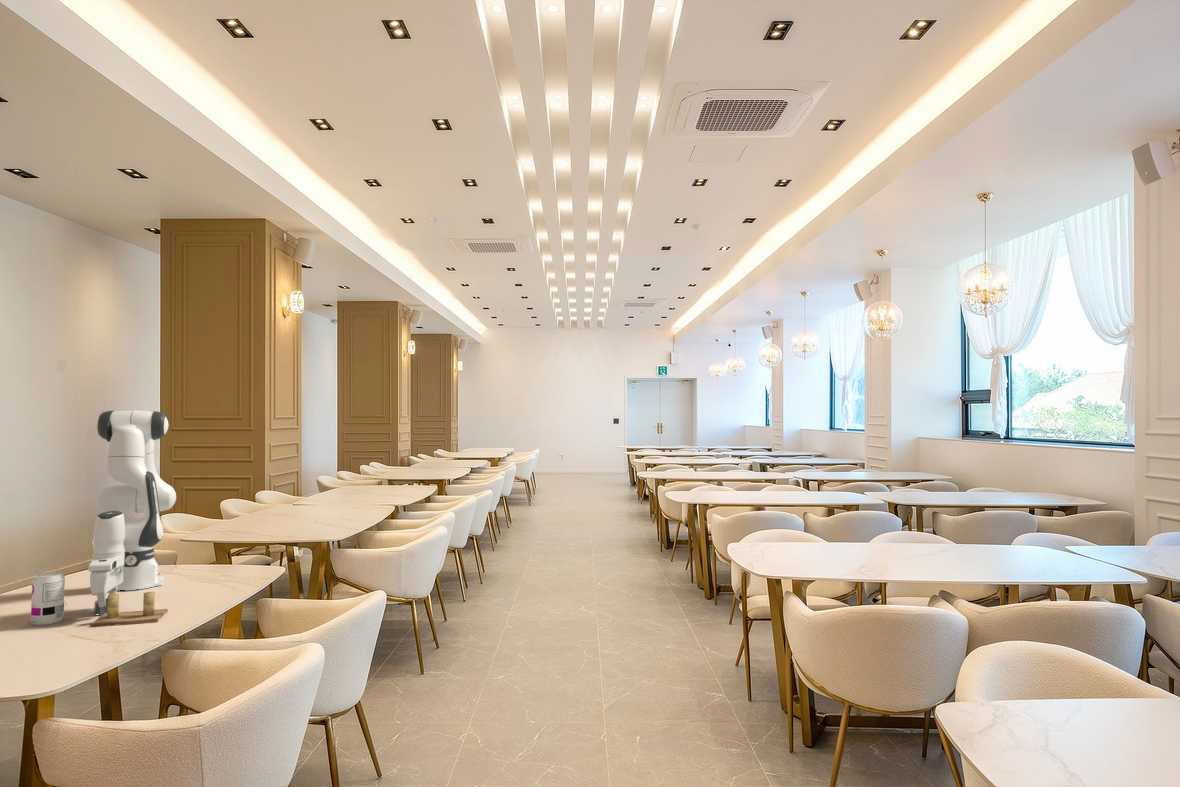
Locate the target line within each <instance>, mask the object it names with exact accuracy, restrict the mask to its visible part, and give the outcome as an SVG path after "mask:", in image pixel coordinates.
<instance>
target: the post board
mask: <svg viewBox="0 0 1180 787" xmlns="http://www.w3.org/2000/svg"><path fill="white" fill-rule="evenodd" d="M107 598H108V604H107V613H105V614H103V615H100V616H99V617H98V618H97V619H95V620H94V621H93V622H91V623H90V625H91V626H92V627H91V626H90V627H91V628H94V626H96V627H107V626H106V625H110V626H116V625H115V624H123V625H130V624H129V623H137V624H144V623H143V622H150V623H157V622H156V621H158V620H159V619H160V618H161V617H162V616H163V615H164V614H165V613H166V612H167V613H168V608H163V609H161V608H160V609H155V591H146V592H143V604H142V605H143V608H142V609H143V610H134V611H133V610H132V611H121V612H120V611H119V610H120V609H119V608H120V606H119V605H120V594H119V593H116V594H112V595H109V594H108V595H107ZM167 613H166V614H167ZM166 614H165V615H166ZM165 615H164V616H165ZM164 616H163V617H164ZM163 617H162V618H163ZM162 618H161V619H162ZM161 619H160V620H161ZM160 620H159V621H160ZM159 621H158V622H159Z"/></svg>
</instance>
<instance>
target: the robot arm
mask: <svg viewBox="0 0 1180 787" xmlns="http://www.w3.org/2000/svg"><path fill="white" fill-rule="evenodd" d="M95 427H96V431H97V434H98V436H99V437H100V438H102V439H104V440H106V441H107V442H108V443H109V445H108V448H107V449H108V450H107V457H106V470H107V474H108V475H109V477H111V479H113V480H114V481H116V482H117V483H120V484H121V485H120V484H119V485H118V484H117V485H116V484H115V485H111V486H106V487H103V488H102V489H101V490H100V491H99V492H98V494H97V495H96V498H95V499H96V500H95V501H96V506H97V509H98V510H99V511H100V512H101V513H98V514H97V516H96V518H95V521H94V525H93V526H94V528H93V537H92V539H93V540H92V541H93V545H94V548H93V549H92V558H91V562H90V563H89V564H88V572H90V575H89V586H90V588H89V591H90V593H91V596H96V598H97V600H98V602H99V605H98V606H99V607H104V606H106V597H107V596H106V595H107V593H108V592H109V593H108V595H112V594H117V591H120V590H125V591H134V590H135V591H136V590H137V589H138V590H144V589H148V588H153V587H157V586H159V587H160V586H163V585H164V581H165V575H163V574H161V573H160V572H159V564H158V562H157V560H156V559H155V546H156V545H157V544H159V543H160V542H161V540H162V539H163V537H164V526H163V522H162V517H161V512H164V511H168V510H171V509H172V508H173V506H174V505H175V504H176V501H177V493H176V491H175V488H173V486H172V485H170V484H168V483H167V482H165V481H164V480H163V479H162V478H161V477H160V475H159V474H158V472H157V469H156V462H155V461H156V460H155V441H157V440H160V439H163V438H164V437H165V436H166V434H167V432H168V430H169V421H168V418H167V415H166V414H165V413H164V412H160V411H149V410H142V409H141V410H140V409H138V410H137V409H134V410H116V411H114V410H108V411H103V412H102V413H100V415H99V417H98V418H97V421H96V426H95ZM136 514H143V516H144V517H143V518H136V517H135V515H136Z"/></svg>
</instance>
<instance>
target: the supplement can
mask: <svg viewBox="0 0 1180 787" xmlns="http://www.w3.org/2000/svg"><path fill="white" fill-rule="evenodd" d="M65 578H66V576H65V575H64V574H63V572H61V571H51V572H42V573H38V574H35V575H34V577H33V579H32V580H31V582H32V583H31V605H30V606H31V609H30V610H31V611H30V613H31V615H30V623H32V625H34V626H46V625H52V623H54V624H58V623H60V622H61V621H62V620H63V619H64V611H65V607H64V606H65V582H66V579H65ZM59 621H60V622H59Z"/></svg>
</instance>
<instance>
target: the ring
mask: <svg viewBox="0 0 1180 787" xmlns="http://www.w3.org/2000/svg"><path fill="white" fill-rule="evenodd" d="M105 598H106V597H105ZM107 604H108V597H107V598H106V606H104V607H99V606H98V605H99V602H98V599H97V600H95V601H94V606H93V607H94V608H93V610H94V611H93V614H94V615H95V614H99V615H98V616H102V615H103V614H105V613H107Z"/></svg>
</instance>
